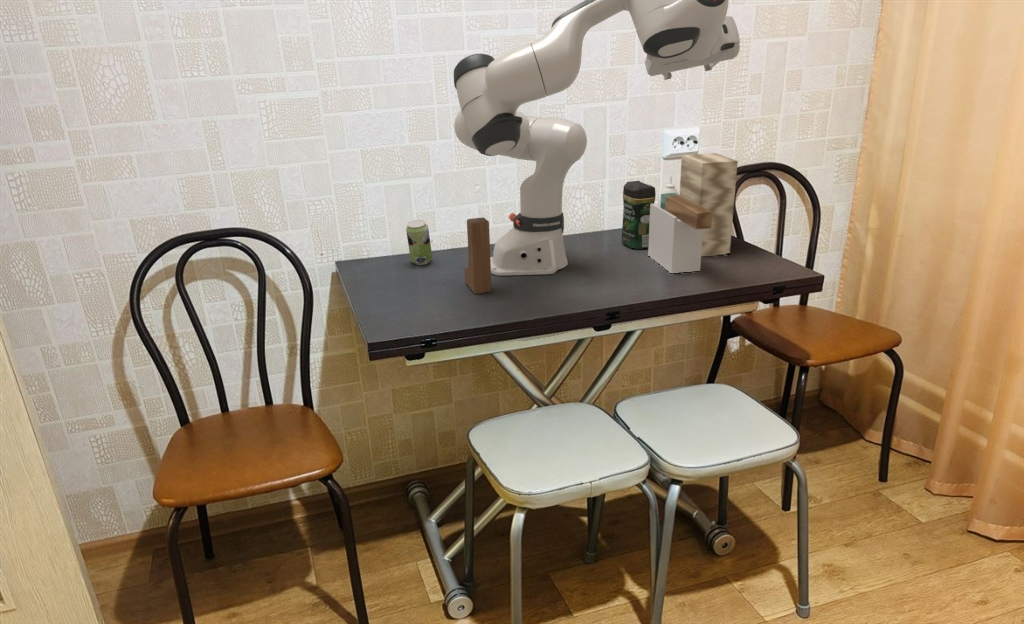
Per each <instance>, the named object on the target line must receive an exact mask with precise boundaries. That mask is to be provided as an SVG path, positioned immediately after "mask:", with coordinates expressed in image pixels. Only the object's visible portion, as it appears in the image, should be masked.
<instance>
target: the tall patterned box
mask: <svg viewBox="0 0 1024 624" xmlns="http://www.w3.org/2000/svg"><path fill="white" fill-rule="evenodd" d="M680 162H681V164H680V177H679V178H680V182H679V195H680V196H682V197H684V198H686V199H688V200H690V201H692V202H694V203H696V204H698V205H700V206H702V207H704V208H705V209H707V210H709V211H711V212H712V225H711V228H708V229H703V238H702V252H701V256H708V255H716V254H726V253H730V254H731V242H732V230H733V229H732V228H733V220H734V219H733V218H734V217H733V216H734V207H735V206H734V205H735V198H736V197H735V196H736V184H737V172H738V164H739V161H738V160H735V159H733V158H730V157H727V156H725V155H721V154H720V153H716V152H709V153H696V154H693V153H692V154H682V155H681V161H680Z"/></svg>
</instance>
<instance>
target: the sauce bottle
mask: <svg viewBox="0 0 1024 624" xmlns="http://www.w3.org/2000/svg"><path fill="white" fill-rule="evenodd" d="M669 177H670V179H669V184H668V183H667V184H666V185H665V187H664V189H663V190H662V192H661V194H666V193H676V194H678V195H680V193H679V192H678V190H677V188H676V185H675V184H673V183H672V176H669ZM661 194H660V196H659V197H658V199H657V203H656V205H657V206H658V207H660V206H661Z"/></svg>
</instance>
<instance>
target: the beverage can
mask: <svg viewBox="0 0 1024 624" xmlns="http://www.w3.org/2000/svg"><path fill="white" fill-rule="evenodd" d="M405 231H406V239H407V243H408V250H409V251H408V252H409V258H410V261H411V263H413V264H414V265H417V266H425V265H426V264H429V263H430V262H432V260H433V253H432V244H431V236H430V230H429V225H428V224H427V223H426V221H425V220H422V219H414V220H411V221H410V222H408V223H407V226H406V228H405Z"/></svg>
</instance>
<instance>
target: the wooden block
mask: <svg viewBox="0 0 1024 624" xmlns="http://www.w3.org/2000/svg"><path fill="white" fill-rule="evenodd" d="M466 229H467V230H466V231H467V234H466V236H467V254H468V265H467V266H465V267H464V278H465V279H464V281H465V284H466V286H467V287H468V288H469V289H470V290H471V291H472V292H473V294H475V295H477V294H485V293H486V292H487V293H491V292H492V273H491V261H490V257H491V240H490V239H491V238H490V222H489V220H487V219H486V218H485V217H475V218H468V219H466Z"/></svg>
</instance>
